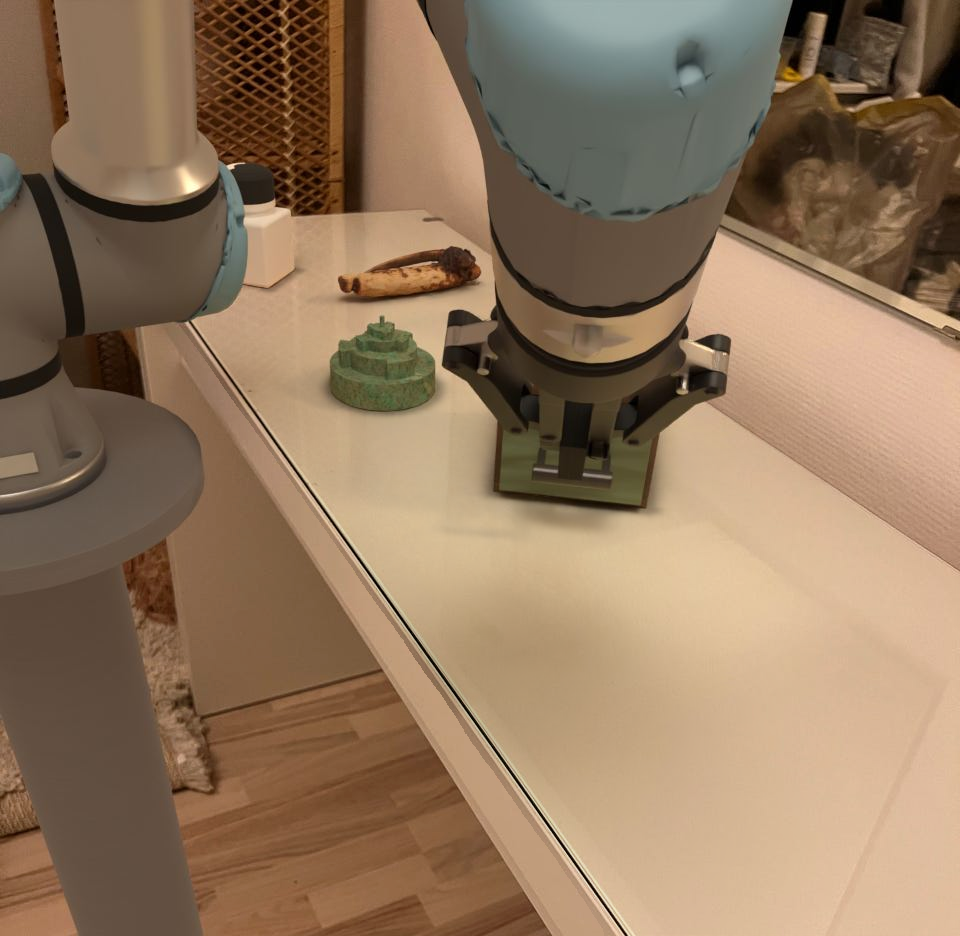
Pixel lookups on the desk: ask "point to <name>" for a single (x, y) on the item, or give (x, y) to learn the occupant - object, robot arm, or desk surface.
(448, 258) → the lashed bone hook
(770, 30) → the robot arm
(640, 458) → the drawer
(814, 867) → the desk surface
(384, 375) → the decorative artifact
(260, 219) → the medicine bottle
